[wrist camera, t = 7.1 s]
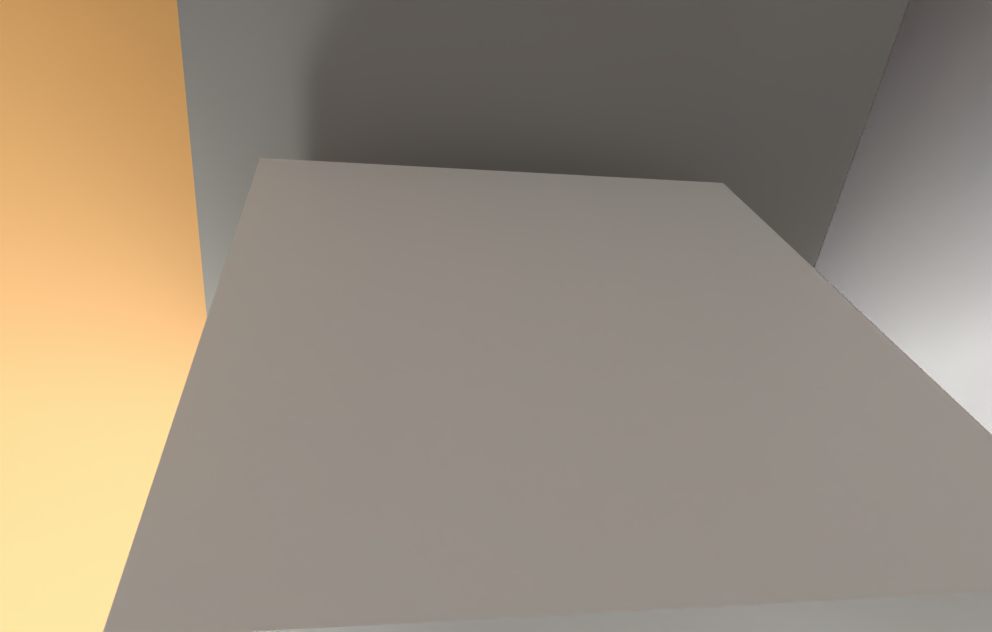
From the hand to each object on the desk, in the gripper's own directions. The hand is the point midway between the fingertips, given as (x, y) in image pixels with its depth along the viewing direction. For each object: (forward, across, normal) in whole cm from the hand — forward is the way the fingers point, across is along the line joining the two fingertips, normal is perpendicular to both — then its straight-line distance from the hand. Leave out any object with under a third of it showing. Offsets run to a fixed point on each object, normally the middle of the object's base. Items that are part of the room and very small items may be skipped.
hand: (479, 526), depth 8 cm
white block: (+1, 0, 0) cm, 1 cm away
